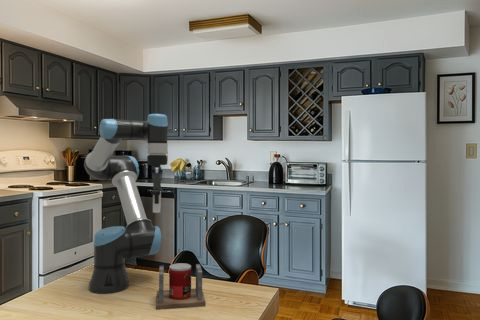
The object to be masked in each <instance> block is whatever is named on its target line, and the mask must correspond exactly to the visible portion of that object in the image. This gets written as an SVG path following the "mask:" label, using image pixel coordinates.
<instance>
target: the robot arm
mask: <svg viewBox="0 0 480 320" xmlns="http://www.w3.org/2000/svg"><path fill="white" fill-rule="evenodd" d="M168 125H169V122H168V116H167V115H166V114H165V113H164V114H162V113H151V114H148V115H147V120H130V119H117V118H116V119H115V118H102V119H101V120H100V122H99V129H98V131H99V136H100V137H99V139H98V140H97V142H96V144H95V145H94V148H93V149H92V151H91V152H89V153H88V154H87V155H86V157H85V159H84V164H83V167H84V169H85V171H86V173H87V174H88V175H89V176H90V177H91V178H93V179H95V180H98V181H111V183H112V185H113V186H114V187H116V189H117V193H118V197H119V200H120V203H121V207H122V211H123V213H124V218H125V222H126V226H123V225H122V226H121V225H116V226H109V227H104V228H102V229H99V230H98V231H96V232H95V234H94V238H93V272H92V275H91V279H90V280H89V283H88V289H89V291H90V292H93V293H95V294H111V293H112V294H113V293H117V292H121V291H124V290H126V289H128V288H129V286H130V277H129V276H128V272H127V269H126V265H125V264H126V262H125V261H126V260H127V259H132V258H139V257H146V256H147V257H149V256H151V255H155V254H158V252H159V250H160V248H161V244H162V232H161V228H160V227H159V225H158V226H156V225H155V226H154V224H153V221H152V220H151V219H148V218H147V214H146V212H145V208H144V205H143V201H142V199H141V196H140V192H139V188H138V186H137V184H136V181H137V179H138V178H139V175H140V169H139V166H140V165H139V163H138V160H137V159H136V158H135V157H134V156H131V155H113V154H114V152H115V150H116V149H117V147H118V146H119V144H120V143H121V141H122V140H140V141H147V145H145V148H146V149H147V154H148V155H147V159H146V160H147V161H146V163H147V164H146V165H149V166H153V169H152V170H151V175H152V177H151V178H152V184H153V185H152V186H153V187H152V189H153V190H152V191H151V192H150V195H151V196H152V213H159V214H160V213H161V208H162V192H163V188H162V184H161V183H162V179H163V169H162V167H161V166H167V165H168V155H167V154H168V148H169V147H168V146H169V145H168V132H169V131H168V127H169V126H168Z"/></svg>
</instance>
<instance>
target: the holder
mask: <svg viewBox="0 0 480 320" xmlns="http://www.w3.org/2000/svg"><path fill="white" fill-rule="evenodd" d="M164 268H165V266H164V265H159V269H158V270H159V271H158V275H159V276H158V290H156V294H155V295H156V297H155V310H156V311H157V310H169V309H184V308H198V307H200V308H201V307H206V299H205V295H204V292H203V270H202V267H201V264H200V263H196V264H195V288H191V295H190V297H189V298H187V299H183V300H176V299H172V298H171V297H170V295H169V289H168V290H166V289H165V290H164V285H165V283H164V281H165V280H164Z"/></svg>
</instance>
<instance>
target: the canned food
mask: <svg viewBox="0 0 480 320" xmlns="http://www.w3.org/2000/svg"><path fill="white" fill-rule="evenodd" d="M168 270H169V271H168V273H169V274H168V275H169V277H168V278H169V281H168V286H169V287H168V290H169V295H170V297H171V298H172V299H176V300H183V299H187V298H189V297H190V295H191V289H192V265H191V264H189V263H180V262H178V263H173V264H170V265H169V269H168Z"/></svg>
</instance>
